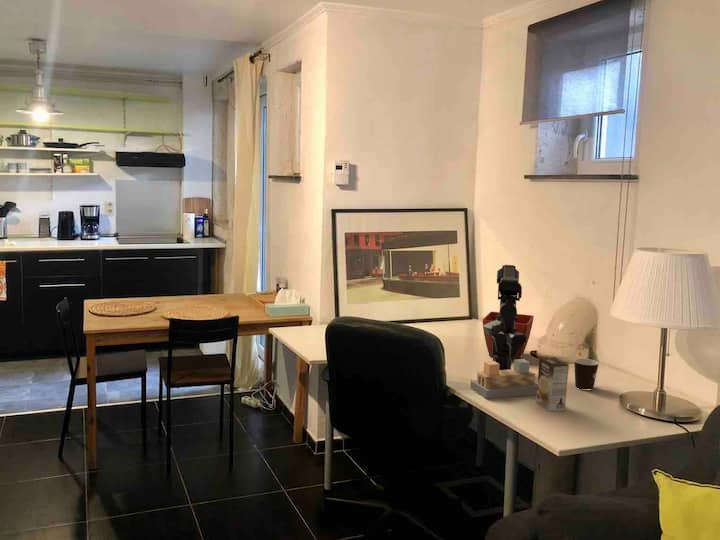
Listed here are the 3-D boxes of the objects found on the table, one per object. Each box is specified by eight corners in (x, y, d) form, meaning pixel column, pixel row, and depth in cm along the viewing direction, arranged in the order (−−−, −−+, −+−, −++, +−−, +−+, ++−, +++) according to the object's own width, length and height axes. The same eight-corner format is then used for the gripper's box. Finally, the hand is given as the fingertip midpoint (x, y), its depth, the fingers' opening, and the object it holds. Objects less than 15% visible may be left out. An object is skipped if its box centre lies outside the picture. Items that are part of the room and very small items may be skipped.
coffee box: (535, 402, 237) (538, 357, 235) (551, 401, 239) (554, 356, 236) (549, 411, 228) (552, 365, 226) (566, 410, 230) (569, 364, 228)
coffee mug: (584, 392, 249) (586, 366, 248) (567, 385, 257) (569, 359, 255) (607, 388, 255) (609, 362, 253) (589, 382, 262) (592, 356, 261)
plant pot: (479, 357, 292) (481, 319, 290) (488, 347, 310) (490, 310, 307) (524, 363, 285) (527, 324, 283) (531, 352, 303) (534, 315, 300)
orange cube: (493, 371, 248) (494, 361, 247) (498, 375, 244) (499, 364, 243) (483, 372, 247) (484, 361, 246) (489, 375, 243) (489, 364, 242)
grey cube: (523, 369, 252) (523, 359, 251) (528, 372, 248) (529, 362, 247) (513, 370, 250) (514, 359, 250) (519, 373, 247) (519, 362, 246)
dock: (522, 384, 257) (523, 376, 257) (540, 394, 246) (541, 386, 246) (470, 388, 250) (470, 380, 250) (486, 399, 239) (486, 390, 239)
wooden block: (525, 378, 254) (525, 368, 253) (534, 384, 248) (535, 373, 247) (476, 382, 248) (477, 371, 247) (485, 388, 242) (486, 377, 241)
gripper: (475, 309, 252) (472, 350, 254) (501, 320, 235) (498, 364, 237) (501, 308, 256) (499, 348, 258) (529, 319, 238) (526, 362, 241)
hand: (504, 355), depth 248 cm, fingers open, 9 cm apart
